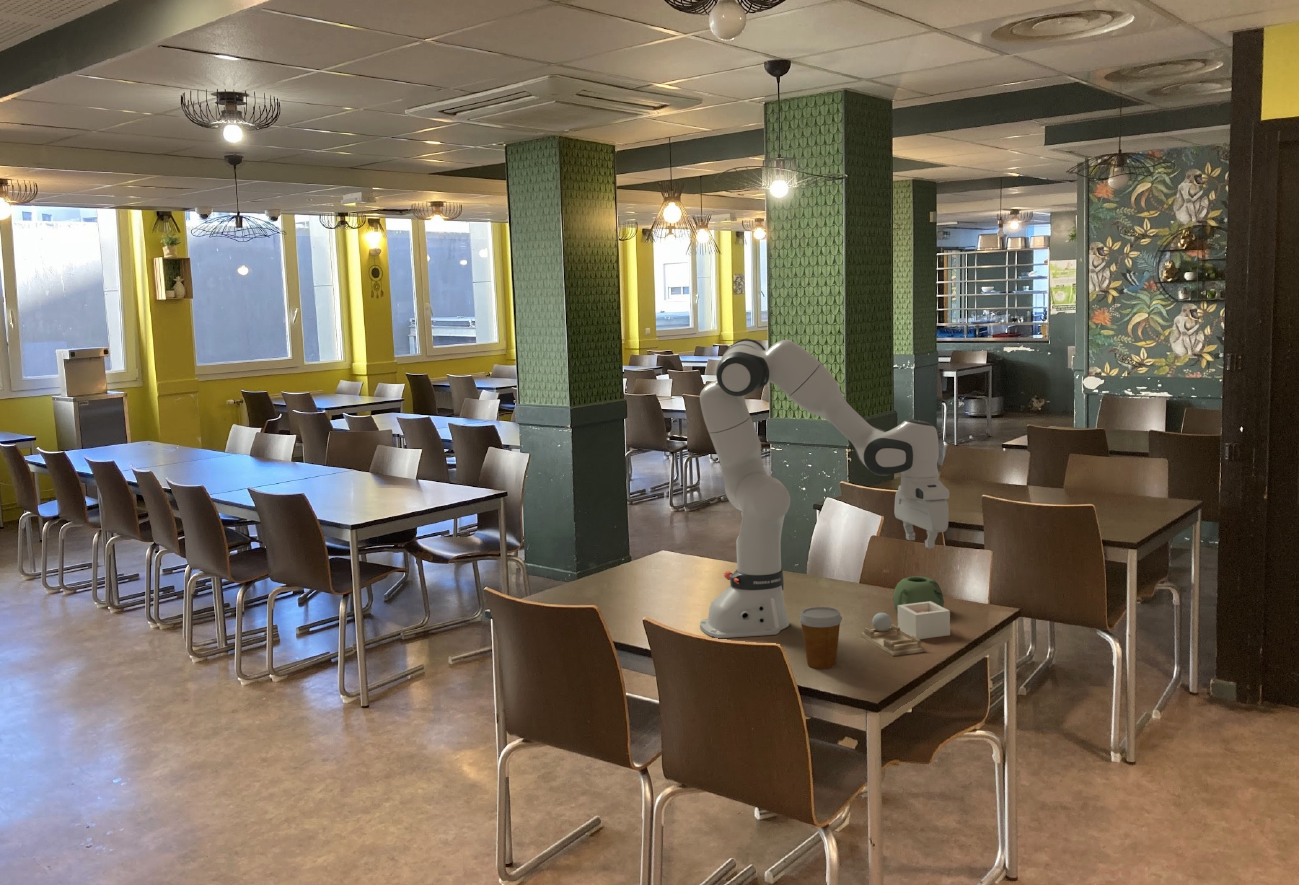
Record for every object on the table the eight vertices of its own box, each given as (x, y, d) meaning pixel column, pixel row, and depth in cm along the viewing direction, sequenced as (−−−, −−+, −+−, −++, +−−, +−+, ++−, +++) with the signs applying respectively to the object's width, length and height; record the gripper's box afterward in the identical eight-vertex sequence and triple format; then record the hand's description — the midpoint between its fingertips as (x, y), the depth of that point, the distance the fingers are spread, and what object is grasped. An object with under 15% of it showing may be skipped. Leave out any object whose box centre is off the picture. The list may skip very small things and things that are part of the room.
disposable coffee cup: (803, 656, 243) (802, 605, 242) (845, 658, 241) (844, 607, 239) (797, 670, 234) (795, 617, 233) (840, 672, 232) (839, 619, 230)
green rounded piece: (908, 602, 283) (907, 570, 282) (953, 609, 274) (953, 577, 273) (877, 616, 271) (876, 583, 270) (922, 625, 263) (922, 591, 262)
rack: (892, 656, 241) (892, 645, 240) (861, 635, 256) (861, 626, 256) (924, 651, 243) (924, 641, 242) (891, 631, 258) (891, 622, 258)
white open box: (916, 639, 252) (915, 615, 251) (897, 629, 260) (897, 605, 259) (950, 635, 254) (949, 610, 253) (930, 624, 262) (930, 601, 262)
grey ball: (877, 634, 251) (877, 616, 251) (869, 629, 256) (868, 611, 255) (895, 632, 252) (894, 614, 252) (886, 627, 257) (885, 609, 256)
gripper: (887, 481, 263) (888, 536, 265) (928, 494, 244) (929, 553, 245) (910, 479, 265) (911, 534, 266) (953, 492, 245) (953, 551, 247)
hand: (920, 543), depth 256 cm, fingers open, 8 cm apart
